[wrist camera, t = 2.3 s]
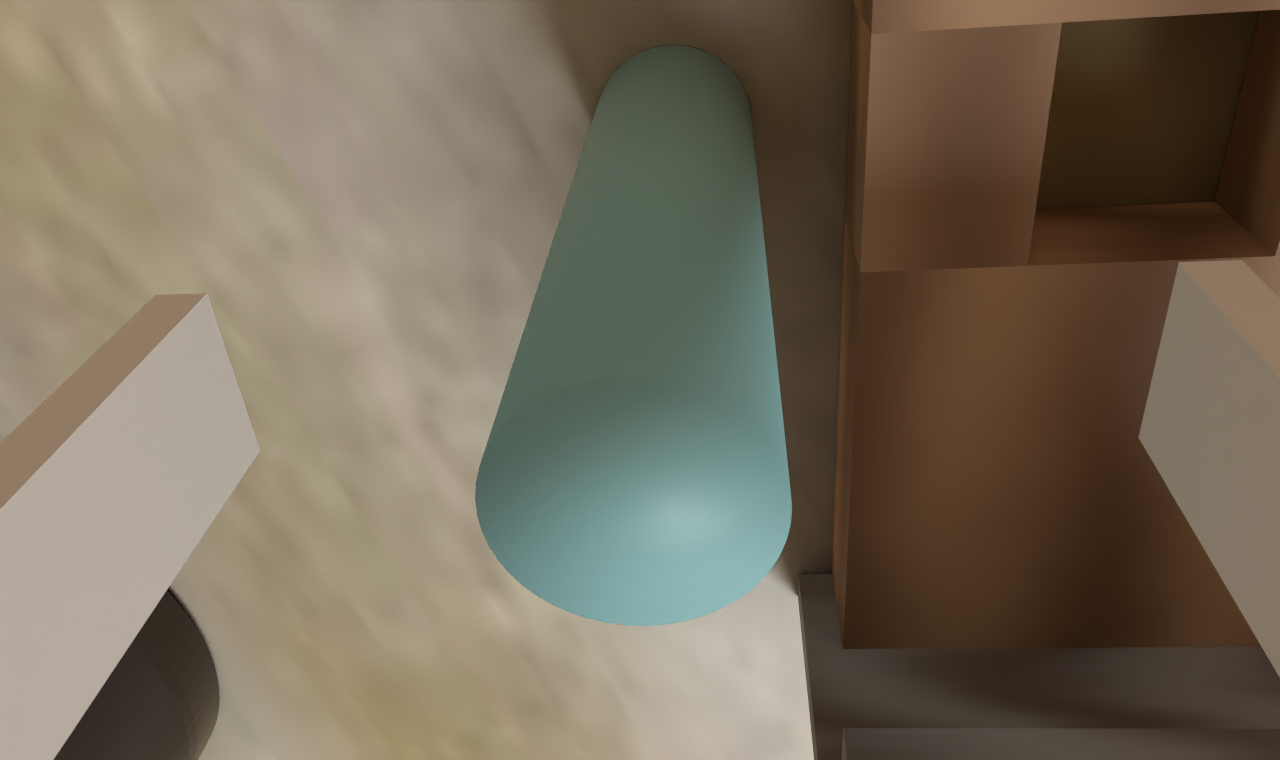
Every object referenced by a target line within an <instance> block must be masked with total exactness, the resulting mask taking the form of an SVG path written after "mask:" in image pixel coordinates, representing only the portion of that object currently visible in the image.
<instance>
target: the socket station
mask: <svg viewBox="0 0 1280 760" xmlns="http://www.w3.org/2000/svg"><path fill="white" fill-rule="evenodd" d="M1246 11H1260V14H1259V18H1258V22H1257V27H1256V31H1255V35H1254V39H1253V43H1252V47H1251V51H1250V56H1249V60H1248V64H1247V68H1246V72H1245V76H1244V80H1243V85H1242V89H1241V93H1240V97H1239V101H1238V105H1237V109H1236V114H1235V118H1234V122H1233V126H1232V130H1231V134H1230V138H1229V143H1228V147H1227V151H1226V155H1225V159H1224V163H1223V167H1222V172H1221V176H1220V180H1219V184H1218V188H1217V192H1216V196H1215V201H1214V202H1191V203H1168V204H1145V205H1123V206H1100V207H1077V208H1055V209H1036V203H1037V196H1038V189H1039V182H1040V175H1041V168H1042V161H1043V154H1044V147H1045V140H1046V133H1047V126H1048V119H1049V112H1050V105H1051V98H1052V91H1053V84H1054V77H1055V70H1056V63H1057V56H1058V49H1059V42H1060V35H1061V28H1062V23H1064V22H1080V21H1097V20H1113V19H1130V18H1147V17H1163V16H1180V15H1196V14H1213V13H1229V12H1246ZM1225 260H1243V261H1244V262H1245V263H1246V264H1247V265H1248V266H1249V267H1250V268H1251V269H1252V270H1253V271H1254V272H1255V274H1256V275H1257V276H1258V277H1259V278H1260V279H1261V280H1262V281H1263V282H1264V283H1265V284H1266V285H1267V286H1268V287H1269V288H1270V289H1271V290H1272V291H1273V292H1274V293H1275V294H1276V295H1277V296H1278V297H1279V298H1280V0H853V7H852V34H851V62H850V90H849V117H848V145H847V173H846V200H845V228H844V256H843V283H842V311H841V339H840V366H839V394H838V422H837V449H836V477H835V505H834V532H833V560H832V574H798V602H799V612H800V622H801V631H802V641H803V651H804V661H805V671H806V681H807V691H808V701H809V711H810V721H811V731H812V741H813V751H814V760H1280V677H1279V676H1278V674H1277V672H1276V670H1275V669H1274V667H1273V665H1272V664H1271V662H1270V660H1269V659H1268V657H1267V655H1266V653H1265V652H1264V650H1263V648H1262V647H1261V645H1260V643H1259V642H1258V640H1257V638H1256V636H1255V635H1254V633H1253V631H1252V630H1251V628H1250V626H1249V625H1248V623H1247V621H1246V619H1245V618H1244V616H1243V614H1242V613H1241V611H1240V609H1239V608H1238V606H1237V604H1236V602H1235V601H1234V599H1233V597H1232V596H1231V594H1230V592H1229V591H1228V589H1227V587H1226V585H1225V584H1224V582H1223V580H1222V579H1221V577H1220V575H1219V574H1218V572H1217V570H1216V568H1215V567H1214V565H1213V563H1212V562H1211V560H1210V558H1209V557H1208V555H1207V553H1206V551H1205V550H1204V548H1203V546H1202V545H1201V543H1200V541H1199V540H1198V538H1197V536H1196V534H1195V533H1194V531H1193V529H1192V528H1191V526H1190V524H1189V523H1188V521H1187V519H1186V517H1185V516H1184V514H1183V512H1182V511H1181V509H1180V507H1179V506H1178V504H1177V502H1176V500H1175V499H1174V497H1173V495H1172V494H1171V492H1170V490H1169V489H1168V487H1167V485H1166V483H1165V482H1164V480H1163V478H1162V477H1161V475H1160V473H1159V472H1158V470H1157V468H1156V466H1155V465H1154V463H1153V461H1152V460H1151V458H1150V456H1149V455H1148V453H1147V451H1146V449H1145V448H1144V446H1143V444H1142V443H1141V441H1140V439H1139V438H1138V437H1139V433H1140V429H1141V424H1142V420H1143V416H1144V411H1145V407H1146V403H1147V398H1148V394H1149V390H1150V385H1151V381H1152V377H1153V372H1154V368H1155V364H1156V359H1157V355H1158V351H1159V346H1160V342H1161V338H1162V333H1163V329H1164V325H1165V320H1166V316H1167V311H1168V307H1169V303H1170V298H1171V294H1172V290H1173V285H1174V281H1175V277H1176V272H1177V268H1178V264H1179V262H1194V261H1225Z"/></svg>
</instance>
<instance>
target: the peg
mask: <svg viewBox="0 0 1280 760" xmlns="http://www.w3.org/2000/svg"><path fill="white" fill-rule="evenodd" d="M475 500H476V509H477V516H478V519H479V523H480V526H481V530H482V532H483V534H484V536H485V539H486V541H487V543H488V545H489V547H490V548H491V550H492V551H493V553H494V555H495V556H496V558H497V559H498V561H499V562H500V563H501V564H502V565H503V566H504V568H505V569H506V570H507V571H508V572H509V573H510V574H511V575H512V576H513V577H514V578H515V579H516V580H517V581H518V582H519V583H520V584H522V585H523V586H524V587H526V588H527V589H528V590H530V591H531V592H532V593H534V594H535V595H537V596H538V597H540V598H542V599H543V600H545V601H547V602H549V603H550V604H552V605H554V606H557V607H559V608H561V609H563V610H565V611H568V612H570V613H573V614H576V615H579V616H582V617H585V618H588V619H593V620H597V621H601V622H606V623H613V624H621V625H636V626H649V625H664V624H671V623H677V622H683V621H687V620H691V619H694V618H698V617H701V616H704V615H707V614H709V613H712V612H715V611H717V610H719V609H721V608H723V607H725V606H727V605H729V604H731V603H733V602H734V601H736V600H737V599H739V598H740V597H742V596H743V595H745V594H746V593H748V592H749V591H750V590H751V589H752V588H753V587H755V586H756V585H757V584H758V583H759V582H760V581H761V580H762V579H763V578H764V577H765V576H766V574H767V573H768V572H769V571H770V570H771V569H772V567H773V565H774V564H775V562H776V561H777V559H778V558H779V556H780V554H781V552H782V550H783V548H784V545H785V543H786V541H787V537H788V533H789V530H790V526H791V516H792V501H791V489H790V480H789V470H788V461H787V451H786V442H785V432H784V423H783V413H782V404H781V394H780V385H779V375H778V366H777V356H776V347H775V337H774V328H773V318H772V309H771V299H770V290H769V280H768V271H767V261H766V252H765V242H764V233H763V223H762V214H761V204H760V195H759V185H758V176H757V166H756V157H755V147H754V137H753V128H752V118H751V110H750V105H749V101H748V98H747V95H746V92H745V90H744V88H743V86H742V84H741V82H740V81H739V79H738V78H737V77H736V75H735V74H734V73H733V72H732V71H731V70H730V68H729V67H728V66H727V65H725V64H724V63H723V62H722V61H720V60H719V59H718V58H716V57H714V56H713V55H711V54H709V53H707V52H705V51H702V50H700V49H696V48H693V47H689V46H682V45H666V46H658V47H654V48H651V49H647V50H645V51H643V52H640V53H638V54H636V55H635V56H633V57H631V58H629V59H628V60H627V61H626V62H624V63H623V64H622V65H621V66H620V67H619V68H618V69H617V70H616V71H615V72H614V73H613V74H612V76H611V77H610V78H609V80H608V81H607V83H606V85H605V87H604V89H603V91H602V93H601V96H600V99H599V102H598V105H597V108H596V111H595V114H594V117H593V120H592V123H591V126H590V129H589V132H588V135H587V138H586V141H585V145H584V148H583V151H582V154H581V157H580V160H579V163H578V166H577V169H576V172H575V175H574V178H573V181H572V184H571V187H570V191H569V194H568V197H567V200H566V203H565V206H564V209H563V212H562V215H561V218H560V221H559V224H558V227H557V230H556V234H555V237H554V240H553V243H552V246H551V249H550V252H549V255H548V258H547V261H546V264H545V267H544V270H543V273H542V276H541V280H540V283H539V286H538V289H537V292H536V295H535V298H534V301H533V304H532V307H531V310H530V313H529V316H528V319H527V323H526V326H525V329H524V332H523V335H522V338H521V341H520V344H519V347H518V350H517V353H516V356H515V359H514V362H513V365H512V369H511V372H510V375H509V378H508V381H507V384H506V387H505V390H504V393H503V396H502V399H501V402H500V405H499V408H498V412H497V415H496V418H495V421H494V424H493V427H492V430H491V433H490V436H489V439H488V442H487V445H486V448H485V451H484V454H483V458H482V461H481V464H480V467H479V471H478V476H477V481H476V495H475Z"/></svg>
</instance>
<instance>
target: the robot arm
mask: <svg viewBox="0 0 1280 760" xmlns="http://www.w3.org/2000/svg"><path fill="white" fill-rule="evenodd" d="M1138 438H1139V439H1140V441H1141V443H1142V444H1143V446H1144V448H1145V449H1146V451H1147V453H1148V455H1149V456H1150V458H1151V460H1152V461H1153V463H1154V465H1155V466H1156V468H1157V470H1158V472H1159V473H1160V475H1161V477H1162V478H1163V480H1164V482H1165V483H1166V485H1167V487H1168V489H1169V490H1170V492H1171V494H1172V495H1173V497H1174V499H1175V500H1176V502H1177V504H1178V506H1179V507H1180V509H1181V511H1182V512H1183V514H1184V516H1185V517H1186V519H1187V521H1188V523H1189V524H1190V526H1191V528H1192V529H1193V531H1194V533H1195V534H1196V536H1197V538H1198V540H1199V541H1200V543H1201V545H1202V546H1203V548H1204V550H1205V551H1206V553H1207V555H1208V557H1209V558H1210V560H1211V562H1212V563H1213V565H1214V567H1215V568H1216V570H1217V572H1218V574H1219V575H1220V577H1221V579H1222V580H1223V582H1224V584H1225V585H1226V587H1227V589H1228V591H1229V592H1230V594H1231V596H1232V597H1233V599H1234V601H1235V602H1236V604H1237V606H1238V608H1239V609H1240V611H1241V613H1242V614H1243V616H1244V618H1245V619H1246V621H1247V623H1248V625H1249V626H1250V628H1251V630H1252V631H1253V633H1254V635H1255V636H1256V638H1257V640H1258V642H1259V643H1260V645H1261V647H1262V648H1263V650H1264V652H1265V653H1266V655H1267V657H1268V659H1269V660H1270V662H1271V664H1272V665H1273V667H1274V669H1275V670H1276V672H1277V674H1278V676H1279V677H1280V298H1279V297H1278V296H1277V295H1276V294H1275V293H1274V292H1273V291H1272V290H1271V289H1270V288H1269V287H1268V286H1267V285H1266V284H1265V283H1264V282H1263V281H1262V280H1261V279H1260V278H1259V277H1258V276H1257V275H1256V274H1255V272H1254V271H1253V270H1252V269H1251V268H1250V267H1249V266H1248V265H1247V264H1246V263H1245V262H1244V261H1243V260H1225V261H1194V262H1179V264H1178V268H1177V272H1176V277H1175V281H1174V285H1173V290H1172V294H1171V298H1170V303H1169V307H1168V311H1167V316H1166V320H1165V325H1164V329H1163V333H1162V338H1161V342H1160V346H1159V351H1158V355H1157V359H1156V364H1155V368H1154V372H1153V377H1152V381H1151V385H1150V390H1149V394H1148V398H1147V403H1146V407H1145V411H1144V416H1143V420H1142V424H1141V429H1140V433H1139V437H1138ZM259 451H260V449H259V446H258V443H257V440H256V437H255V434H254V432H253V429H252V426H251V423H250V420H249V417H248V414H247V411H246V408H245V405H244V402H243V399H242V396H241V393H240V390H239V387H238V384H237V381H236V378H235V375H234V372H233V369H232V366H231V363H230V360H229V358H228V355H227V352H226V349H225V346H224V343H223V340H222V337H221V334H220V331H219V328H218V325H217V322H216V319H215V316H214V313H213V310H212V307H211V304H210V301H209V298H208V295H207V293H204V294H173V295H155V296H154V297H153V298H152V299H151V300H150V301H149V302H148V303H147V304H146V305H145V306H144V307H143V308H142V309H141V310H140V311H139V312H138V313H137V314H135V315H134V316H133V317H132V318H131V319H130V320H129V321H128V322H127V323H126V324H125V325H124V326H123V327H122V328H121V329H120V330H119V331H118V332H117V333H116V334H115V335H113V336H112V337H111V338H110V339H109V340H108V341H107V342H106V343H105V344H104V345H103V346H102V347H101V348H100V349H99V350H98V351H97V352H96V353H95V354H94V355H93V356H91V357H90V358H89V359H88V360H87V361H86V362H85V363H84V364H83V365H82V366H81V367H80V368H79V369H78V370H77V371H76V372H75V373H74V374H73V375H72V376H71V377H69V378H68V379H67V380H66V381H65V382H64V383H63V384H62V385H61V386H60V387H59V388H58V389H57V390H56V391H55V392H54V393H53V394H52V395H51V396H50V397H49V398H48V399H46V400H45V401H44V402H43V403H42V404H41V405H40V406H39V407H38V408H37V409H36V410H35V411H34V412H33V413H32V414H31V415H30V416H29V417H28V418H27V419H26V420H24V421H23V422H22V423H21V424H20V425H19V426H18V427H17V428H16V429H15V430H14V431H13V432H12V433H11V434H10V435H9V436H8V437H7V438H6V439H5V440H4V441H2V442H1V443H0V760H198V759H199V757H200V755H201V753H202V751H203V749H204V747H205V746H206V744H207V742H208V740H209V738H210V736H211V733H212V731H213V729H214V727H215V723H216V720H217V716H218V711H219V699H220V697H219V684H218V678H217V674H216V670H215V666H214V663H213V660H212V658H211V655H210V652H209V650H208V648H207V646H206V644H205V642H204V640H203V638H202V636H201V635H200V633H199V631H198V629H197V628H196V626H195V625H194V623H193V622H192V620H191V619H190V618H189V616H188V615H187V614H186V612H185V611H184V610H183V608H182V607H181V606H180V605H179V603H178V602H177V601H176V600H175V599H174V598H173V597H172V596H171V594H170V593H169V592H168V591H167V589H168V588H169V586H170V585H171V583H172V582H173V580H174V579H175V577H176V576H177V574H178V573H179V571H180V570H181V568H182V567H183V565H184V564H185V562H186V561H187V559H188V558H189V556H190V555H191V553H192V552H193V550H194V549H195V547H196V546H197V544H198V543H199V541H200V540H201V538H202V537H203V535H204V534H205V532H206V531H207V529H208V528H209V526H210V525H211V523H212V522H213V520H214V519H215V517H216V516H217V514H218V513H219V511H220V510H221V508H222V507H223V505H224V504H225V502H226V501H227V499H228V498H229V496H230V495H231V493H232V492H233V490H234V489H235V487H236V486H237V484H238V483H239V481H240V480H241V478H242V477H243V475H244V474H245V472H246V471H247V469H248V468H249V466H250V465H251V463H252V462H253V460H254V459H255V457H256V456H257V454H258V453H259Z"/></svg>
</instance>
